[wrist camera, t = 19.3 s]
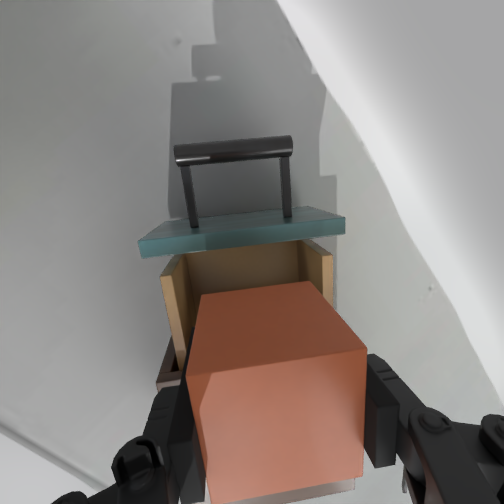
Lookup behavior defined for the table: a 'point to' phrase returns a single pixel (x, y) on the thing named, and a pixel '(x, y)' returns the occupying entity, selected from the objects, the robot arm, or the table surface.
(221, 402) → the block
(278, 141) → the drawer
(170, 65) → the table surface
